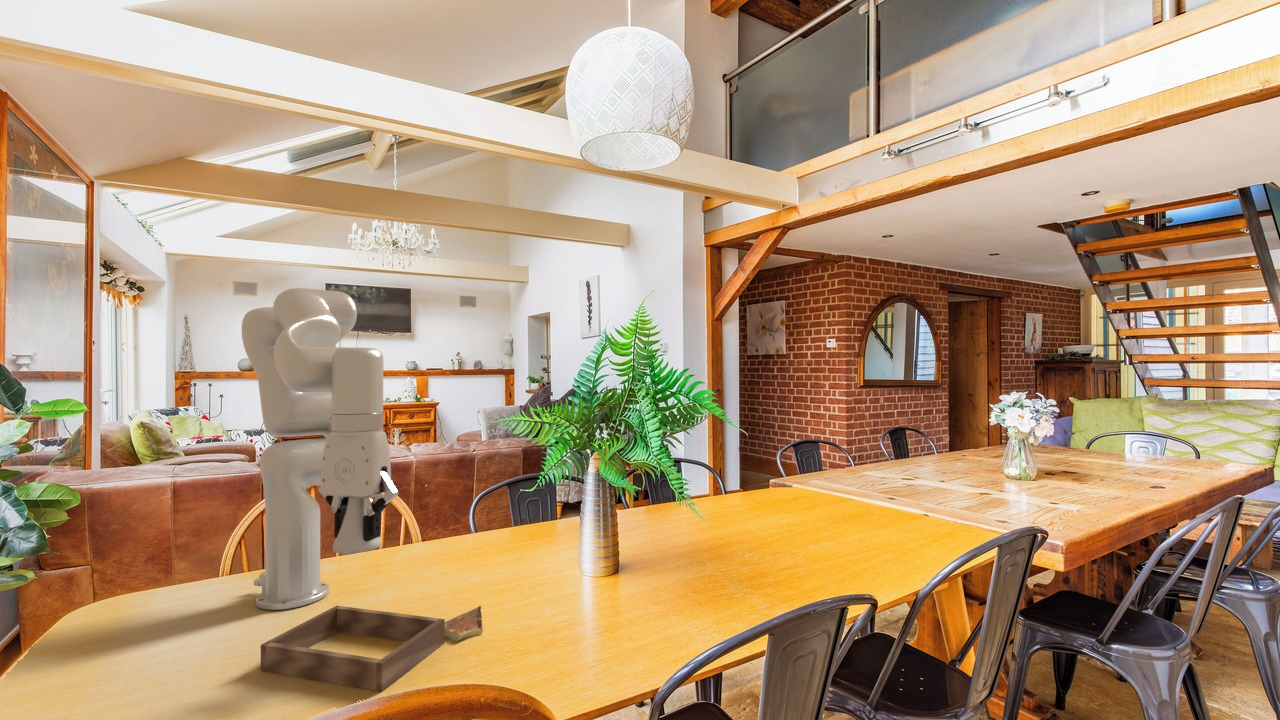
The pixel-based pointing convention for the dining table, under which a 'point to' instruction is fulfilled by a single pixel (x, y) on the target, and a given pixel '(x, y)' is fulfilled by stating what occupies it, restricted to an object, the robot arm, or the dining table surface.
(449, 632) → the shard
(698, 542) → the dining table surface
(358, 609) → the brown wooden frame
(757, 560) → the dining table surface
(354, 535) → the flask
